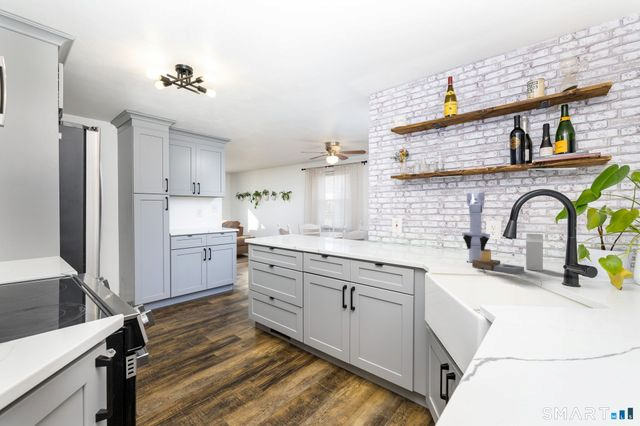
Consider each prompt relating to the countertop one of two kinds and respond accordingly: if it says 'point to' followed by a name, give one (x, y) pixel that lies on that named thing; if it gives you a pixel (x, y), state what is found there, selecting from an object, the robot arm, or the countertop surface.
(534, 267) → the milk carton
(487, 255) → the plug
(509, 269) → the lower jack
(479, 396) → the countertop surface
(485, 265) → the upper jack
